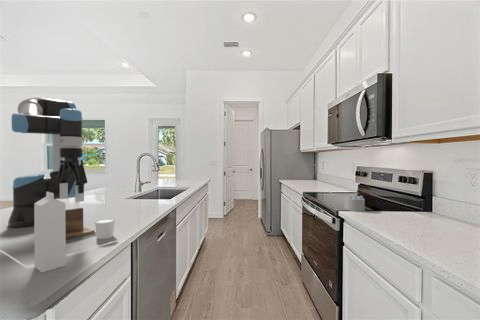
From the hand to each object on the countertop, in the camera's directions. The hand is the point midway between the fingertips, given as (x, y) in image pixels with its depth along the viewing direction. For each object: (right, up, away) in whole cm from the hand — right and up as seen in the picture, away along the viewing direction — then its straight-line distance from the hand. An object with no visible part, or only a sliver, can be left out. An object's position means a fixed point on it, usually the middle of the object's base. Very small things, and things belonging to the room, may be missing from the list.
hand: (71, 200), depth 103 cm
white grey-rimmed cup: (+15, -15, -2) cm, 21 cm away
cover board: (0, -14, 0) cm, 14 cm away
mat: (0, -15, 0) cm, 15 cm away
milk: (+12, -15, -28) cm, 34 cm away
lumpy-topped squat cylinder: (+140, -15, +56) cm, 152 cm away
